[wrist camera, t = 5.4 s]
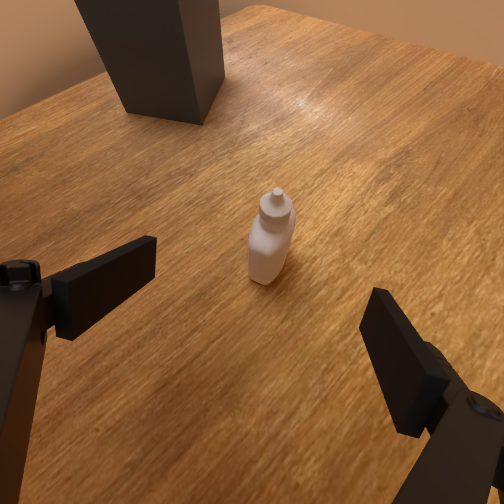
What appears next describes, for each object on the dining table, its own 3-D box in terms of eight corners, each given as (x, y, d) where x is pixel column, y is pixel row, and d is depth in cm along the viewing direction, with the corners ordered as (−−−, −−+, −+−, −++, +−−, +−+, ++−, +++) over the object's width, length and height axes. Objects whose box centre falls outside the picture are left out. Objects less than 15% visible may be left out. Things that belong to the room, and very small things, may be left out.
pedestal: (126, 112, 40) (39, -73, 24) (157, 66, 45) (104, -111, 29) (201, 125, 39) (165, -60, 22) (225, 76, 44) (209, -103, 27)
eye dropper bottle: (235, 260, 29) (226, 188, 18) (276, 235, 30) (290, 154, 20) (258, 291, 27) (262, 234, 17) (300, 263, 29) (329, 193, 18)
